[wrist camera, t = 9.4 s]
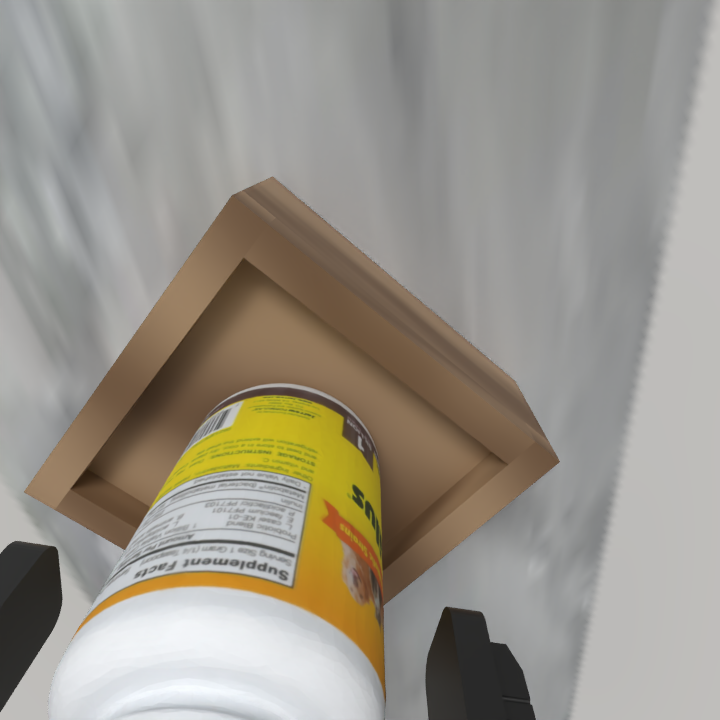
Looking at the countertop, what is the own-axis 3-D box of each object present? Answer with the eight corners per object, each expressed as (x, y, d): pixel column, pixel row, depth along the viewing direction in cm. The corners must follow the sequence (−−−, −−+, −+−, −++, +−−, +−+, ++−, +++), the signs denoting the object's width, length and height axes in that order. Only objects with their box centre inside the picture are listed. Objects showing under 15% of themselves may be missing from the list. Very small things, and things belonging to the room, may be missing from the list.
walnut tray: (272, 176, 16) (232, 194, 12) (515, 381, 19) (559, 461, 14) (104, 408, 20) (23, 491, 15) (328, 552, 22) (316, 660, 18)
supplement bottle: (371, 534, 17) (366, 1039, 7) (200, 518, 17) (-19, 1009, 7) (391, 383, 15) (422, 838, 5) (195, 363, 14) (-134, 790, 5)
